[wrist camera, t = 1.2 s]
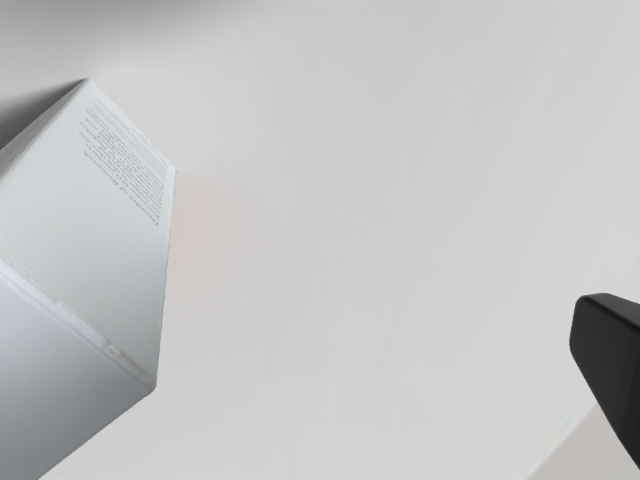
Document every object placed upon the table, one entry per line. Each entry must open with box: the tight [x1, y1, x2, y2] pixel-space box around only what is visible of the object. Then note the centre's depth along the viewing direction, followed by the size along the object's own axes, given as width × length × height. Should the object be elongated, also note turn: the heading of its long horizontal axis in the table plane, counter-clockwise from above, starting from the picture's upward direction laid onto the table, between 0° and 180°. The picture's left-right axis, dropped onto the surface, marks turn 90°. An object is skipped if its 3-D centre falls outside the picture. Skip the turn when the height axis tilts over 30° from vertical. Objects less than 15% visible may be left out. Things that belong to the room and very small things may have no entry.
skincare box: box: [0, 78, 176, 480], centre depth 15 cm, size 6×4×12 cm
